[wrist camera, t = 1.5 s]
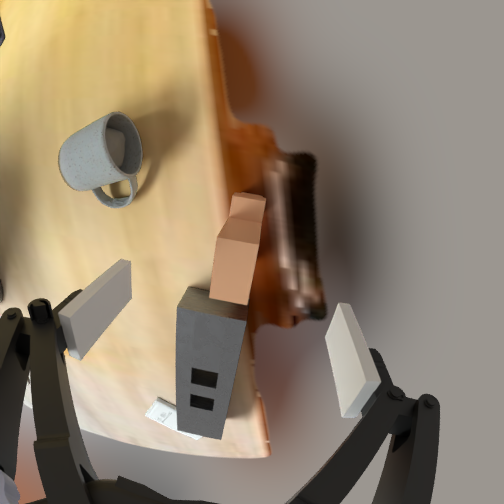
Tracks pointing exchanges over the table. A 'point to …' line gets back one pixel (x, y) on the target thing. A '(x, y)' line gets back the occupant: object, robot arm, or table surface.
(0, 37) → the dark gray flat slab
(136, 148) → the ceramic mug
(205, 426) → the rail
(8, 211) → the table surface
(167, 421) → the external hard drive
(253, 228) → the tan wooden block
